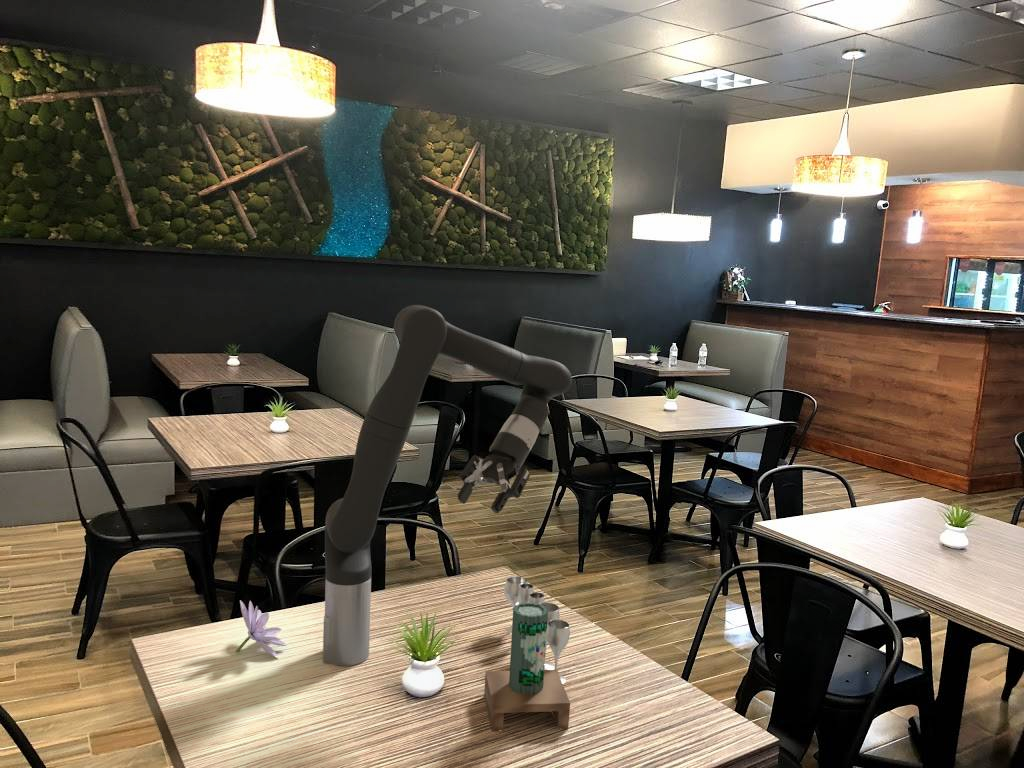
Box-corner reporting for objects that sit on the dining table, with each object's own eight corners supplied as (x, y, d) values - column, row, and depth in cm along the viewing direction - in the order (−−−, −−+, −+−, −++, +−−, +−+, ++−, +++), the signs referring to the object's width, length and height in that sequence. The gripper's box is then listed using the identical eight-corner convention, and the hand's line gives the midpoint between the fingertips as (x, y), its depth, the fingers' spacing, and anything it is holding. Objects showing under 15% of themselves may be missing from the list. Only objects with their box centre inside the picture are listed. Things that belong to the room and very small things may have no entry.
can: (528, 698, 145) (532, 619, 143) (503, 685, 149) (507, 609, 147) (548, 686, 150) (553, 610, 148) (524, 674, 154) (528, 599, 152)
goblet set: (572, 683, 161) (577, 621, 159) (546, 687, 159) (550, 624, 157) (521, 623, 187) (524, 569, 185) (497, 626, 185) (500, 571, 183)
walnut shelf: (491, 731, 143) (493, 705, 142) (484, 695, 155) (485, 671, 154) (568, 728, 145) (570, 702, 144) (555, 693, 157) (556, 669, 156)
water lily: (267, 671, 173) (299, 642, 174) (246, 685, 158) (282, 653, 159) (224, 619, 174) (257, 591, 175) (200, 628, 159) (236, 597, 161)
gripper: (480, 425, 168) (441, 488, 161) (536, 436, 160) (498, 504, 153) (494, 446, 173) (457, 508, 166) (549, 458, 165) (513, 524, 158)
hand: (477, 506), depth 159 cm, fingers open, 8 cm apart
